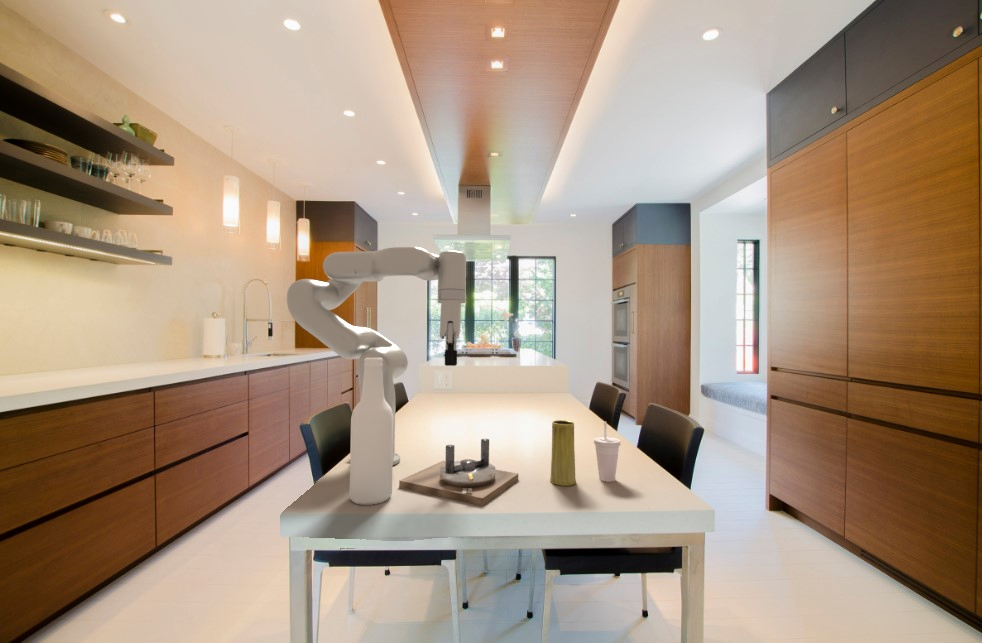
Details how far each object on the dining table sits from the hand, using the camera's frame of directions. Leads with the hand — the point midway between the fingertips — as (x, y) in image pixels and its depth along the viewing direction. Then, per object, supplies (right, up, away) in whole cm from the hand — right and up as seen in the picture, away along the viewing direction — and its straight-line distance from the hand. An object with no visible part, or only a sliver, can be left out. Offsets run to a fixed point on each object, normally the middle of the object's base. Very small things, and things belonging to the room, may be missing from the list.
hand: (450, 365), depth 113 cm
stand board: (+4, -27, -13) cm, 30 cm away
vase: (+28, -27, -11) cm, 41 cm away
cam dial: (+6, -25, -15) cm, 29 cm away
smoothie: (+39, -27, -9) cm, 49 cm away
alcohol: (-15, -26, -23) cm, 38 cm away
